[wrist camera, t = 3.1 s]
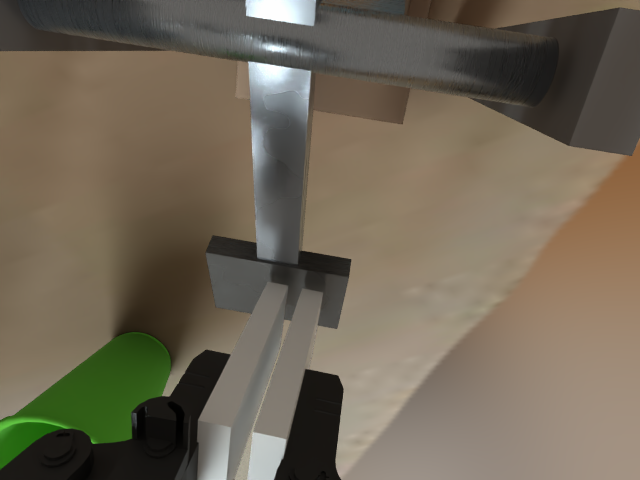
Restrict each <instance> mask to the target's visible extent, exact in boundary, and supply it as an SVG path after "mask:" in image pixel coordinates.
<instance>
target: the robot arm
mask: <svg viewBox="0 0 640 480" xmlns="http://www.w3.org/2000/svg"><path fill="white" fill-rule="evenodd" d="M287 292H288V286H287V285H282V284H277V283H272V282H267V284H266V286H265V288H264V290H263V292H262V294H261V296H260V298H259V300H258V302H257V304H256V306H255V308H254V310H253V312H252V314H251V316H250V318H249V320H248V322H247V324H246V326H245V328H244V330H243V332H242V334H241V336H240V338H239V340H238V342H237V344H236V346H235V348H234V350H233V352H232V354H231V355H230V354H225V353H220V352H215V351H210V350H205V351H204V352H202V353H201V354H200V355H198V356H197V357H195V358H194V359H193V360H192V362H191V363H190V365H189V366H188V368H187V370H186V371H185V374H184V375H183V376H182V378H181V379H180V381H179V384H177V386H176V387H175V389H174V391H173V392H172V394H171V396H170V397H166V396H160V397H155V398H151V399H148V400H146V401H144V402H142V403H141V404H139V405H138V406H137V407H136V408H135V409H134V410H133V411H132V412H131V423H132V439H129V440H126V441H120V442H111V443H97V444H92V442H91V439H90V436H88V435H87V434H86V433H85V432H83V431H81V430H77V429H73V428H70V429H59V430H56V431H53V432H50V433H47V434H46V435H44V436H42V437H41V438H39V439H38V440H36V441H35V442H33V443H32V444H31V445H30V446H28V447H27V448H26V449H25V450H24V451H22V452H21V453H20V454H19V455H18V456H16V457H15V458H14V459H13V460H11V461H10V462H9V463H8V464H7V465H5V466H4V467H3V468H2V469H0V480H234V478H235V475H236V473H237V470H238V467H239V464H240V461H241V458H242V455H243V453H244V450H245V447H246V444H247V441H248V438H249V435H250V432H251V430H252V427H253V424H254V421H255V418H256V415H257V412H258V409H259V407H260V404H261V401H262V398H263V395H264V392H265V389H266V387H267V384H268V381H269V378H270V375H271V372H272V369H273V366H274V364H275V361H276V358H277V355H278V352H279V349H280V345H281V337H282V330H283V322H284V315H285V307H286V300H287ZM322 296H323V292H318V291H313V290H308V289H303V288H302V291H301V294H300V296H299V299H298V302H297V305H296V308H295V311H294V314H293V317H292V320H291V323H290V326H289V329H288V331H287V334H286V337H285V340H284V343H283V346H282V349H281V352H280V355H279V358H278V361H277V364H276V366H275V369H274V372H273V375H272V378H271V381H270V384H269V387H268V390H267V393H266V396H265V399H264V401H263V404H262V407H261V410H260V413H259V416H258V419H257V422H256V425H255V428H254V431H253V436H252V445H251V454H250V463H249V472H248V480H341V479H340V477H339V475H338V473H337V470H336V463H335V458H336V450H337V441H338V433H339V424H340V415H341V407H342V399H343V390H344V389H343V386H342V384H341V381H340V379H339V376H338V375H333V374H328V373H323V372H318V371H313V370H309V367H310V363H311V359H312V354H313V349H314V343H315V337H316V331H317V325H318V320H319V314H320V308H321V302H322Z"/></svg>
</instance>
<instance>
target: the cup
mask: <svg viewBox="0 0 640 480" xmlns="http://www.w3.org/2000/svg"><path fill="white" fill-rule="evenodd" d="M170 371H171V360H170V356H169V353H168V351H167V349H166V348H165V346H164V345H163V344H162V343H161V342H160V341H158V340H157V339H155V338H154V337H152V336H150V335H148V334H145V333H140V332H130V333H125V334H122V335H120V336H118V337H116V338H114V339H113V340H111V341H110V342H109V343H107V344H106V345H105V346H104V347H102V348H101V349H100V350H98V351H97V352H96V353H94V354H93V355H92V356H90V357H89V358H88V359H87V360H85V361H84V362H83V363H81V364H80V365H79V366H77V367H76V368H75V369H74V370H72V371H71V372H70V373H68V374H67V375H66V376H64V377H63V378H62V379H60V380H59V381H58V382H57V383H55V384H54V385H53V386H51V387H50V388H49V389H47V390H46V391H45V392H43V393H42V394H41V395H40V396H38V397H37V398H36V399H34V400H33V401H32V402H30V403H29V404H28V405H26V406H25V407H24V408H23V409H21V410H20V411H19V412H17V413H16V414H15V415H13V416H8V417H5V418H3V419H1V420H0V469H2V468H3V467H4V466H5V465H7V464H8V463H9V462H10V461H11V460H13V459H14V458H15V457H16V456H18V455H19V454H20V453H21V452H22V451H24V450H25V449H26V448H27V447H28V446H30V445H31V444H32V443H33V442H35V441H36V440H38V439H39V438H41V437H42V436H44V435H46V434H47V433H50V432H53V431H56V430H59V429H70V428H73V429H77V430H81V431H83V432H85V433H86V434H87V435H88V436H90V439H91V442H92V444H97V443H111V442H120V441H126V440H129V439H132V423H131V412H132V411H133V410H134V409H135V408H136V407H137V406H138V405H139V404H141V403H142V402H144V401H146V400H148V399H151V398H155V397H160V396H162V394H163V391H164V388H165V386H166V383H167V380H168V377H169V375H170Z"/></svg>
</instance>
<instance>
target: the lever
mask: <svg viewBox="0 0 640 480" xmlns="http://www.w3.org/2000/svg"><path fill="white" fill-rule="evenodd" d="M17 2H18V5H19V8H20V10H21V12H22V14H23V16H24V17H25V19H26V20H27V21H28V23H29V24H30V25H32V26H33V27H34V28H36V29H39V30H44V31H50V32H57V33H63V34H69V35H76V36H82V37H88V38H95V39H101V40H107V41H114V42H120V43H126V44H133V45H139V46H146V47H152V48H158V49H165V50H171V51H177V52H184V53H190V54H196V55H203V56H209V57H215V58H222V59H228V60H235V61H241V62H247V63H249V85H250V107H251V129H252V151H253V173H254V195H255V217H256V239H257V243H254V242H248V241H242V240H237V239H231V238H225V237H219V236H212V238H211V241H210V243H209V245H208V248H207V250H206V258H207V263H208V268H209V274H210V279H211V284H212V289H213V295H214V300H215V305H216V307H217V308H223V309H229V310H234V311H240V312H245V313H251V314H252V312H253V310H254V308H255V306H256V304H257V302H258V300H259V298H260V296H261V294H262V292H263V290H264V288H265V286H266V284H267V282H272V283H277V284H282V285H287V286H288V292H287V300H286V307H285V315H284V319H285V320H290V321H291V320H292V317H293V314H294V311H295V308H296V305H297V302H298V299H299V296H300V294H301V291H302V288H303V289H308V290H313V291H318V292H323V296H322V302H321V308H320V314H319V320H318V326H324V327H329V328H335V329H337V327H338V323H339V319H340V314H341V310H342V305H343V301H344V297H345V292H346V288H347V283H348V279H349V272H350V265H351V259H347V258H341V257H335V256H329V255H323V254H318V253H312V252H306V251H302V245H303V232H304V220H305V207H306V195H307V182H308V169H309V157H310V144H311V132H312V119H313V107H314V94H315V82H316V73H317V74H324V75H330V76H336V77H343V78H349V79H355V80H362V81H368V82H374V83H381V84H387V85H394V86H400V87H406V88H413V89H419V90H425V91H432V92H438V93H444V94H451V95H457V96H463V97H470V98H476V99H483V100H489V101H495V102H502V103H508V104H514V105H521V106H527V107H535V106H537V105H538V104H539V103H540V102H541V101H542V99H543V98H544V96H545V95H546V93H547V91H548V89H549V87H550V85H551V83H552V80H553V78H554V75H555V71H556V68H557V64H558V58H559V43H558V41H557V39H556V38H551V37H545V36H538V35H531V34H525V33H518V32H512V31H505V30H498V29H492V28H485V27H479V26H472V25H465V24H459V23H452V22H445V21H439V20H432V19H426V18H419V17H412V16H406V15H404V12H405V0H17Z"/></svg>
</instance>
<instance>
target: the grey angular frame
mask: <svg viewBox="0 0 640 480" xmlns="http://www.w3.org/2000/svg"><path fill="white" fill-rule="evenodd" d="M430 4H431V0H405V12H404V15H406V16H412V17H419V18H426V19H427V18H428V14H429V9H430ZM497 29H498V30H505V31H512V32H518V33H525V34H531V35H538V36H545V37H551V38H556V39H557V41H558V43H559V58H558V64H557V68H556V71H555V75H554V78H553V80H552V83H551V85H550V87H549V89H548V91H547V93H546V95H545V96H544V98H543V99H542V101H541V102H540V103H539V104H538V105H537V106H535V107H527V106H521V105H514V104H508V103H502V102H495V101H489V100H483V99H476V98H470V97H468V98H470V99H472V100H474V101H477V102H479V103H481V104H483V105H485V106H487V107H489V108H491V109H493V110H495V111H497V112H499V113H502V114H504V115H506V116H508V117H510V118H512V119H514V120H516V121H518V122H520V123H522V124H524V125H526V126H529V127H531V128H533V129H535V130H537V131H539V132H541V133H543V134H545V135H547V136H549V137H551V138H554V139H556V140H558V141H560V142H562V143H564V144H566V145H568V146H573V147H579V148H585V149H591V150H598V151H604V152H610V153H616V154H623V155H629V156H632V154H633V152H634V149H635V147H636V145H637V142H638V140H639V138H640V10H633V9H626V8H615V9H609V10H603V11H597V12H591V13H585V14H579V15H573V16H567V17H562V18H556V19H550V20H544V21H538V22H532V23H526V24H520V25H514V26H508V27H502V28H497ZM0 51H171V50H165V49H158V48H152V47H146V46H139V45H133V44H126V43H120V42H114V41H107V40H101V39H95V38H88V37H82V36H76V35H69V34H63V33H57V32H50V31H44V30H39V29H36V28H34V27H33V26H32V25H30V24H29V23H28V21H27V20H26V19H25V17H24V16H23V14H22V12H21V10H20V8H19V5H18V2H17V0H0ZM409 92H410V88H406V87H400V86H394V85H387V84H381V83H374V82H368V81H362V80H355V79H349V78H343V77H336V76H330V75H324V74H317V73H316V82H315V94H314V107H313V110H316V111H322V112H328V113H334V114H341V115H347V116H353V117H359V118H365V119H372V120H378V121H384V122H390V123H397V124H403V120H404V115H405V110H406V106H407V101H408V96H409ZM236 98H241V99H247V100H250V85H249V63H247V62H241V61H238V67H237V83H236Z"/></svg>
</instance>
